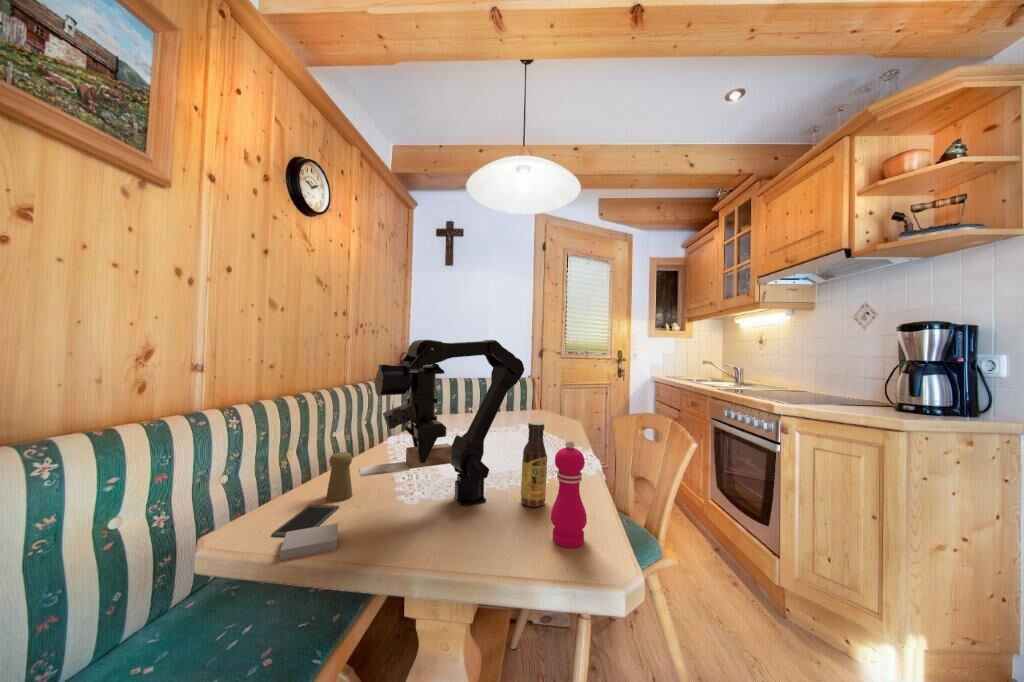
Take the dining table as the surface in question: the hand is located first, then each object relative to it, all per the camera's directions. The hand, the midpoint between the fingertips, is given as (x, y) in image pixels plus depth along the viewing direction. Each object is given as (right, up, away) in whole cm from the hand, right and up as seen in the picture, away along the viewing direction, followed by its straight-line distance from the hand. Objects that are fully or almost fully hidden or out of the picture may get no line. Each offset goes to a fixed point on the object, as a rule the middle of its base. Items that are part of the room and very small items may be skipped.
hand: (420, 460), depth 82 cm
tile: (-13, -11, -13) cm, 21 cm away
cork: (-23, -12, +7) cm, 26 cm away
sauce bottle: (+27, -13, +7) cm, 30 cm away
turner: (-3, -1, -2) cm, 3 cm away
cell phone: (-23, -12, -5) cm, 27 cm away
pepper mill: (+33, -13, -11) cm, 36 cm away
